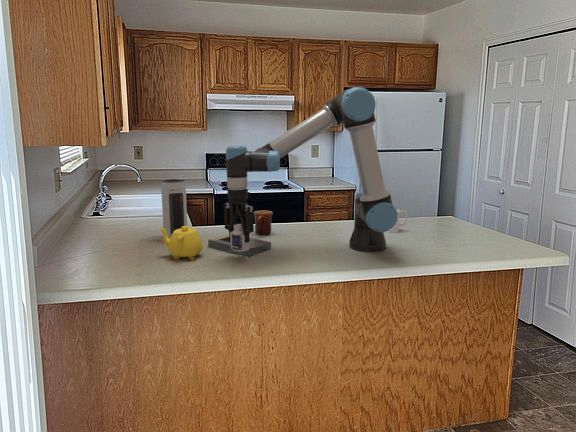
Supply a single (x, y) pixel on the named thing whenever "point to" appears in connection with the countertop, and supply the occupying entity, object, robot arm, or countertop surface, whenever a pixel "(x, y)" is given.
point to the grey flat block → (254, 248)
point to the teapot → (183, 242)
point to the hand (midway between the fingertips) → (239, 249)
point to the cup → (397, 223)
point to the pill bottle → (237, 238)
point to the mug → (263, 222)
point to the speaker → (173, 205)
